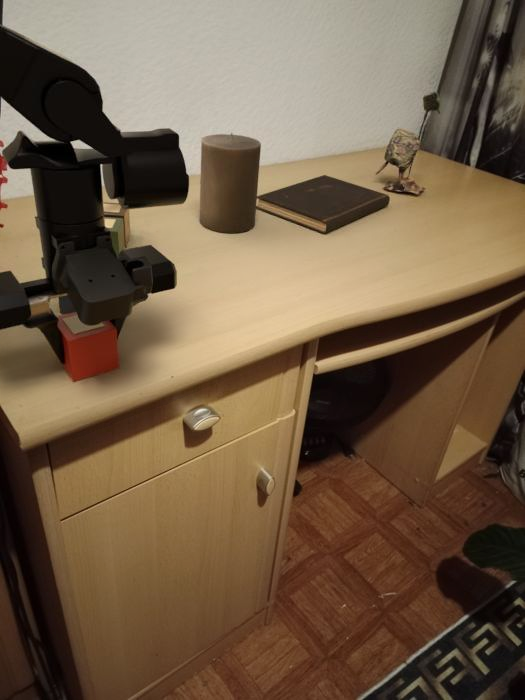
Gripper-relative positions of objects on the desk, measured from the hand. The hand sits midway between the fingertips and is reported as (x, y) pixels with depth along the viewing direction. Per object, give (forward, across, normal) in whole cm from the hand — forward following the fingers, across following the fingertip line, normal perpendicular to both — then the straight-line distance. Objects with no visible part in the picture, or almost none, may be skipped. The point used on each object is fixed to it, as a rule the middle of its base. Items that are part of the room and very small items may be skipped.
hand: (86, 354), depth 57 cm
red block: (+1, 0, 0) cm, 1 cm away
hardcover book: (+1, +58, +27) cm, 63 cm away
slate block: (+1, +4, +12) cm, 13 cm away
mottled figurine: (+1, +82, +29) cm, 87 cm away
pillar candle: (+1, +36, +28) cm, 45 cm away
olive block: (+1, +12, +24) cm, 27 cm away
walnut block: (+1, +15, +29) cm, 32 cm away
